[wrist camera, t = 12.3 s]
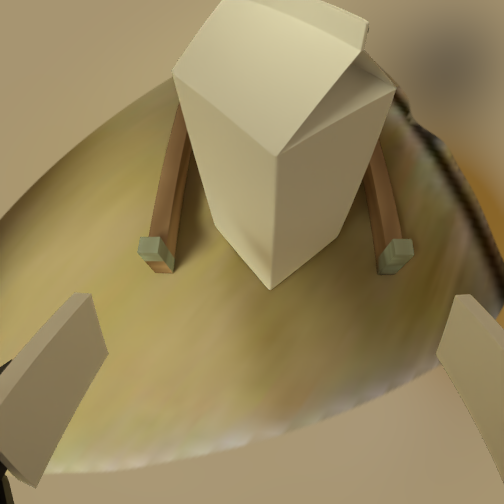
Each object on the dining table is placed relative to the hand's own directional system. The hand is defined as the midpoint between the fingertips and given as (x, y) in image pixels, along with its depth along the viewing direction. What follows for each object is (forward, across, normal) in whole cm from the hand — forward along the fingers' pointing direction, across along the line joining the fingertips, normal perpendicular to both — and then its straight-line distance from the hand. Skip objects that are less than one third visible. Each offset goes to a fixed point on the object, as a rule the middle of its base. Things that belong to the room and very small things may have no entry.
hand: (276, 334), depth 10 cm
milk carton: (+16, 0, -2) cm, 16 cm away
